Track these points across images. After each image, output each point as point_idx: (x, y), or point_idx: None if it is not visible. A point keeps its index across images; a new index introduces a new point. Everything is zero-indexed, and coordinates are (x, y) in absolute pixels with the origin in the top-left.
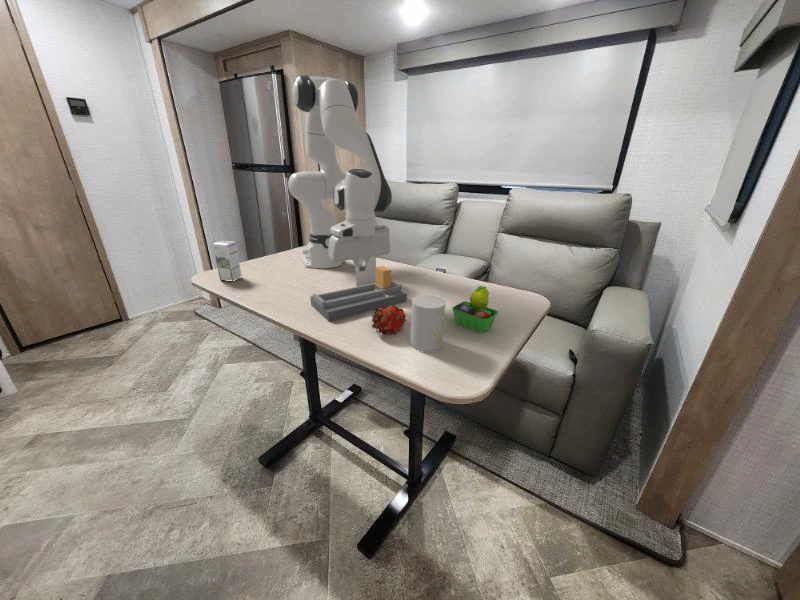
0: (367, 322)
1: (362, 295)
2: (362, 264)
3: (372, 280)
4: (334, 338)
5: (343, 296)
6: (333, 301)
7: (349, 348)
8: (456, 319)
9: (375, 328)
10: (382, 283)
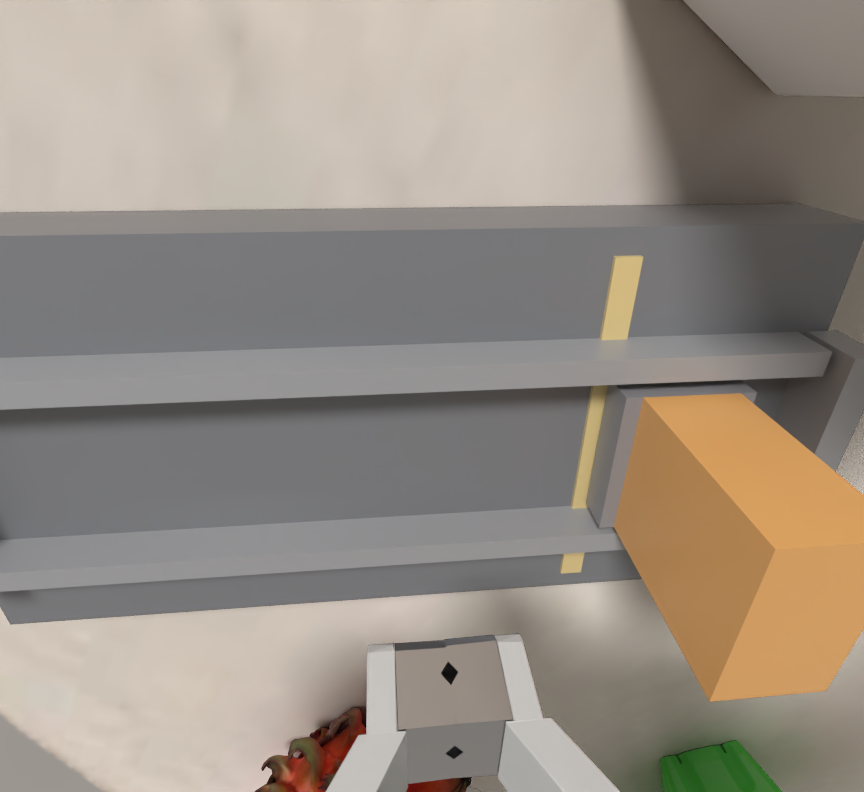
0: (297, 642)
1: (361, 564)
2: (505, 739)
3: (815, 72)
4: (62, 706)
5: (218, 415)
6: (53, 587)
7: (120, 774)
8: (665, 789)
9: (274, 772)
10: (637, 552)
